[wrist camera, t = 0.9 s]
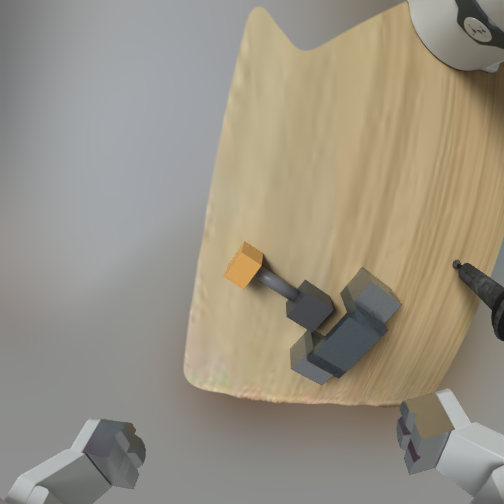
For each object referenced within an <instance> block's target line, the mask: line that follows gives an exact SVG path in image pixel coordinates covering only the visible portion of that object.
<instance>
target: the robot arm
mask: <svg viewBox="0 0 504 504" xmlns="http://www.w3.org/2000/svg"><path fill="white" fill-rule="evenodd" d="M407 1H408V3H409V6H410V13H411V19H412V22H413V25H414V27H415V30H416V32H417V34H418V35H419V37H420V39H421V40H422V42H423V43H424V44H425V46H426V47H427V48H428V49H429V50H430V51H431V52H432V53H433V54H434V55H435V56H436V57H437V58H439V59H440V60H441V61H443V62H444V63H446V64H447V65H449V66H451V67H453V68H456V69H459V70H465V71H471V70H477V69H481V70H484V71H486V72H489V73H494V72H496V71H497V70H498V68H499V64H500V63H501V62H503V61H504V0H407ZM400 412H401V415H402V416H401V417H400V418H399V419H398V422H397V438H398V442H399V445H400V448H402V449H403V450H405V451H406V454H405V457H404V460H405V463H406V466H407V469H408V472H409V475H411V474H415V473H418V472H422V471H426V470H429V469H432V468H435V467H436V470H438V471H439V472H441V473H442V474H443V475H444V476H446V477H447V478H448V479H450V480H451V481H452V482H454V483H455V484H456V485H458V486H459V487H461V488H462V489H463V490H465V491H466V492H467V493H469V494H470V495H472V496H473V497H474V499H473V500H472V501H471V502H470V504H504V435H502V434H500V433H498V432H495V431H493V430H491V429H489V428H487V427H485V426H482V425H481V424H478V423H476V422H474V423H471V422H470V420H469V419H468V417H467V415H466V414H465V412H464V410H463V409H462V407H461V405H460V404H459V402H458V400H457V399H456V397H455V396H454V394H453V392H452V391H451V390H450V389H449V388H447V389H444V390H440V391H437V392H434V393H430V394H427V395H423V396H420V397H416V398H413V399H409V400H405V401H403V402H402V403H401V406H400ZM135 432H136V429H135V428H134V426H133V424H132V423H128V422H120V421H113V420H106V419H98V418H90V419H88V420H87V422H86V424H85V425H84V427H83V428H82V430H81V432H80V433H79V435H78V437H77V438H76V440H75V442H74V443H73V445H72V447H71V448H70V450H68V449H66V450H64V451H63V452H61V453H59V454H57V455H55V456H54V457H52V458H50V459H49V460H47V461H45V462H43V463H42V464H40V465H38V466H36V467H34V468H33V469H31V470H29V471H27V472H25V473H24V474H22V475H20V476H19V477H18V479H17V480H16V482H15V483H14V485H13V487H12V488H11V490H10V492H9V493H8V495H7V497H6V498H5V500H2V499H0V504H93V503H94V502H95V501H96V500H97V499H98V498H100V497H101V496H102V495H103V494H104V493H105V492H107V491H108V490H109V489H110V488H111V487H112V486H116V487H122V488H128V489H134V487H135V484H136V482H137V479H138V476H139V473H138V470H137V468H139V467H140V466H141V465H143V463H144V460H145V456H146V454H145V453H146V449H145V445H144V443H143V441H142V439H141V438H139V437H138V436H136V435H135Z"/></svg>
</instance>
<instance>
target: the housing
mask: <svg viewBox="0 0 504 504" xmlns="http://www.w3.org/2000/svg"><path fill="white" fill-rule="evenodd" d="M340 294H341V297H342V299H343V302H344V305H345V307H346V310H347V313H346V314H345V315H344V316H343V318H342V319H341V320H340V321H339V322H338V323H337V324H336V325H335V326H334V327H333V328H332V330H331V331H330V332H329V333H328V334H327V335H326V336H324V335H322V334H320V333H319V332H317V331H314V332H313V333H312V332H311V331H309V330H307V331H306V332H305V334H304V335H303V336H302V337H301V338H300V339H299V340H298V341H297V342H296V343H295V344H294V345H293V346H292V347H291V349H290V359H291V369H292V370H294V371H295V372H297V373H299V374H301V375H303V376H305V377H307V378H309V379H310V380H312V381H314V382H316V383H318V384H320V385H323V384H324V383H325V382H326V381H327V380H329V379H330V378H331V377H332V376H335V377H337V378H340V377H341V376H342V375H343V374H345V373H346V372H347V371H348V370H349V369H350V368H351V367H352V366H353V365H354V364H355V363H356V362H357V361H358V360H359V359H360V358H361V357H362V356H363V355H364V354H365V353H366V352H367V351H368V350H369V349H370V348H371V347H372V346H373V345H374V344H375V343H376V342H377V341H378V340H379V339H380V338H381V337H382V336H383V335H384V334H385V333H386V332H387V330H388V329H387V327H386V325H385V322H386V321H387V320H388V319H389V318H390V317H391V316H392V315H393V314H394V312H395V311H396V310H397V309H398V308H399V307H400V306H401V305H402V304H401V303H400V301H399V300H398V299H397V297H396V296H395V294H394V293H393V291H392V290H391V289H390V288H389V287H388V286H387V285H385V284H384V283H383V282H381V281H380V280H379V279H378V278H376V277H375V276H374V275H372V274H371V273H370V272H368V271H367V270H366V269H364V268H363V267H362V268H361V269H360V270H359V272H358V273H357V274H356V275H355V276H354V278H353V279H352V280H351V281H350V282H349V284H348V285H347V286H346V287H345V288H344V289H343V291H342V292H341V293H340Z"/></svg>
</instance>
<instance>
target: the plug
mask: <svg viewBox="0 0 504 504" xmlns="http://www.w3.org/2000/svg"><path fill="white" fill-rule="evenodd" d="M262 258H263V253H262V252H260V251H259V250H257V249H256V248H254V247H253V246H251V245H250V244H248V243H247V242H244V243H243V244H242V246H241V247H240V249H239V250H238V251H237V253H236V254H235V256H234V257H233V259H232V260H231V261H230V263H229V265H228V267H227V270H226V272H225V275H224V277H225V278H227V279H228V280H230V281H231V282H233V283H234V284H236V285H238V286H239V287H241V288H242V289H244V288H245V287H246V286H247V284H248V283H249V282H250V280H251V279H252V278H253V277H255V278H256V279H258V280H259V281H261V282H262V283H264V284H265V285H267V286H269V287H270V288H272V289H273V290H275V291H276V292H278V293H279V294H281V295H282V296H284V297H286V298H287V299H289V300H288V301H287V302H286V313H287V317H288V318H290V319H291V320H293V321H294V322H296V323H298V324H299V325H301V326H303V327H304V328H306V329H307V330H309V331H311V332H312V333H313V332H314V331H315V330H316V329H317V327H318V326H319V325H320V324H321V323H322V322H323V321H324V320H325V319H326V317H327V316H328V315H329V314H330V313H331V312H332V311H333V310H334V309H333V306H332V302H331V299H330V296H329V295H327V294H326V293H324V292H323V291H321V290H320V289H318V288H317V287H315V286H314V285H312V284H311V283H309V282H308V281H306V280H304V282H303V283H302V284H301V285H300V287H299V288H298V289H296V288H294V287H293V286H291V285H290V284H288V283H287V282H285V281H284V280H282V279H281V278H279V277H278V276H276V275H275V274H273V273H272V272H270V271H269V270H267V269H266V268H264V267H263V266H262Z"/></svg>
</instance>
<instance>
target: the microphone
mask: <svg viewBox="0 0 504 504" xmlns="http://www.w3.org/2000/svg"><path fill="white" fill-rule="evenodd" d="M453 267H454V268H456V269H459V277H460V279H462V280H463V281H464V282H465V283H466V284H467V285H468V286H469V287H470V288H471V289H472V290H473V291H474V292H475V293H476V294H477V295H478V296H479V297H480V298H481V299H482V300H483V301H484V303H486V305H488V307H489V308H490V309H491V310H492V317H491V319H492V326H493V328H494V332H495V335H496V337H497V338H498V339H500V340H502V341H504V288H503V287H502V286H501V285H499V284H498V283H497V282H495V281H494V280H492V279H491V278H490V277H488V276H487V275H485V274H484V273H483V272H481V271H480V270H478V269H477V268H475V267H474V266H472V265H471V264H469V263H465V264H463V265H461V263H460V261H459V260H455V261H454V262H453Z"/></svg>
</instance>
